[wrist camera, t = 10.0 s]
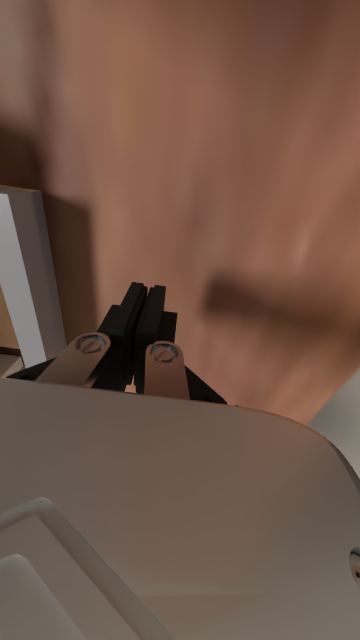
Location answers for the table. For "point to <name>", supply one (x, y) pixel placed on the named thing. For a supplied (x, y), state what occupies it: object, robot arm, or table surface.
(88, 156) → the table surface
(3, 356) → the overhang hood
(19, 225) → the tan flat board
